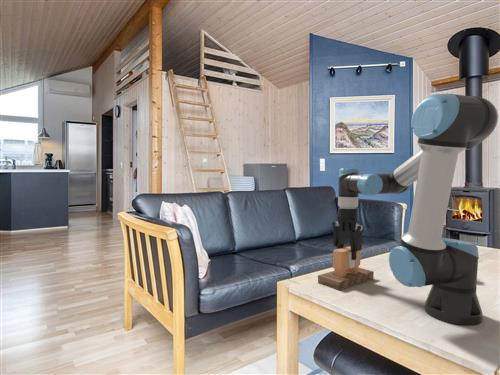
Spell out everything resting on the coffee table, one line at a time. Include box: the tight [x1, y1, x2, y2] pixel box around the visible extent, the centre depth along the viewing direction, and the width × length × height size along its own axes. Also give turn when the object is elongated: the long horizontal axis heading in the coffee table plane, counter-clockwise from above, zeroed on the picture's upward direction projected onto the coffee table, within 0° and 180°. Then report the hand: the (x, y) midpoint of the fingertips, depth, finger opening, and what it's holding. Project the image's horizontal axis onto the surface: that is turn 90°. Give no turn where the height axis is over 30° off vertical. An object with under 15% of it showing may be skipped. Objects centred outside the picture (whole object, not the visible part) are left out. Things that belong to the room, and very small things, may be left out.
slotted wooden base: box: [317, 267, 375, 291], centre depth 136 cm, size 22×10×3 cm, turn 127°
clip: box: [332, 246, 362, 278], centre depth 135 cm, size 12×4×12 cm, turn 127°
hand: (346, 266), depth 135 cm, fingers closed on clip, 4 cm apart
